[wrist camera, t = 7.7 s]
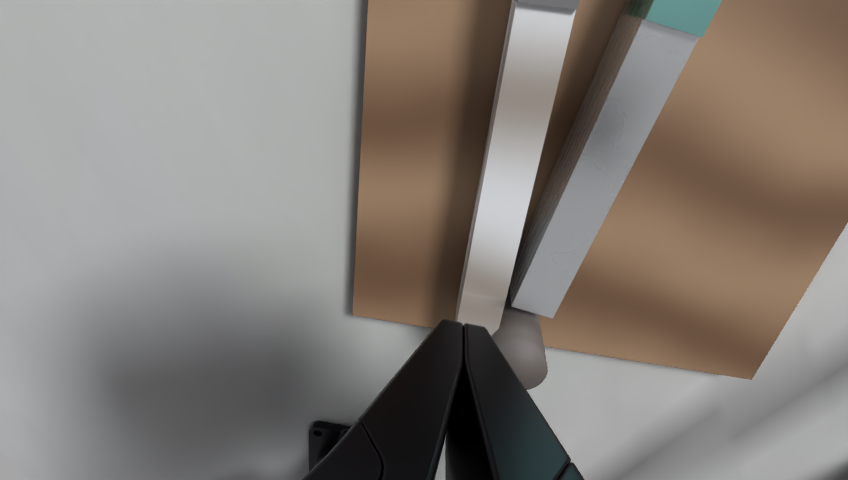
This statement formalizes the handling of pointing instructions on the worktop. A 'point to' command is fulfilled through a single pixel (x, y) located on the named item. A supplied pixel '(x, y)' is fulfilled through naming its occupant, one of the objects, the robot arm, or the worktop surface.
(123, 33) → the worktop surface
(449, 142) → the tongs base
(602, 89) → the hinged jaw
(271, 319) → the worktop surface
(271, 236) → the worktop surface
